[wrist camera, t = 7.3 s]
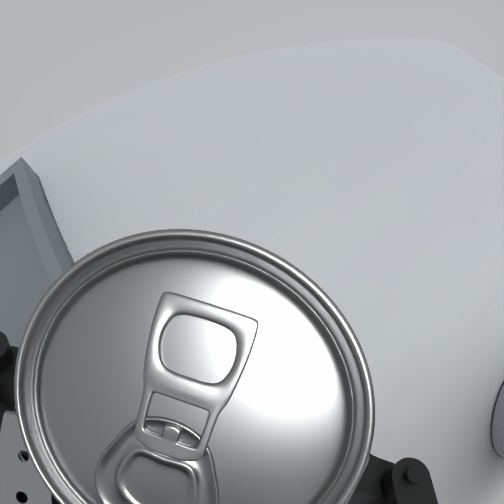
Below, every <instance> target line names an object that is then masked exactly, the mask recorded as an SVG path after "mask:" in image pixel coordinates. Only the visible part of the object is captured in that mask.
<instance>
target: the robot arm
mask: <svg viewBox="0 0 504 504" xmlns="http://www.w3.org/2000/svg"><path fill="white" fill-rule="evenodd" d="M18 350H19V347H14V346H10V344H9V341H8V338H7V336H6V335H5V334H4V333H3V332H1V331H0V504H60V503H59V502H58V501H57V500H56V499H55V498H54V496H53V495H52V494H51V492H50V491H49V490H48V488H47V487H46V485H45V484H44V482H43V481H42V479H41V478H40V476H39V474H38V473H37V471H36V469H35V467H34V465H33V463H32V461H31V459H30V457H29V455H28V452H27V450H26V447H25V445H24V442H23V439H22V436H21V432H20V428H19V424H18V420H17V414H16V407H15V397H14V377H15V366H16V360H17V354H18ZM492 440H493V445H494V448H495V451H496V452H497V453H498V454H499V456H501V457H503V458H504V384H503V386H502V389H501V391H500V394H499V397H498V400H497V402H496V407H495V411H494V416H493V423H492ZM345 504H438V502H437V498H436V494H435V491H434V487H433V484H432V480H431V477H430V473H429V471H428V469H427V467H426V466H425V465H424V464H423V463H422V462H421V461H419V460H417V459H415V458H404V459H401V460H400V461H398V462H397V463H396V464H394V463H391V462H388V461H386V460H383V459H380V458H378V457H375V456H373V455H372V454H369V457H368V460H367V463H366V466H365V469H364V471H363V474H362V476H361V478H360V480H359V482H358V484H357V486H356V488H355V489H354V491H353V493H352V494H351V496H350V497H349V499H348V500H347V502H346V503H345Z"/></svg>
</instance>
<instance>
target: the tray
mask: <svg viewBox="0 0 504 504" xmlns="http://www.w3.org/2000/svg"><path fill="white" fill-rule="evenodd" d="M73 264H74V261H73V259H72V257H71V255H70V253H69V251H68V249H67V246H66V244H65V242H64V240H63V237H62V235H61V233H60V231H59V228H58V226H57V223H56V221H55V219H54V216H53V214H52V211H51V209H50V206H49V203H48V201H47V198H46V196H45V193H44V190H43V187H42V184H41V182H40V179H39V176H38V175H37V174H36V173H35V172H34V171H33V170H32V169H31V167H30V166H29V165H28V164H27V163H26V162H25V161H24V159H23V158H22V157H21V158H20V159H19V160H17V161H16V162H15V163H14V164H13V165H11V166H10V167H9V168H8V169H7V170H6V171H5V172H3V173H2V174H1V175H0V331H1V332H3V333H4V334H5V335H6V336H7V338H8V341H9V344H10V346H14V347H19V346H20V342H21V339H22V336H23V333H24V330H25V328H26V325H27V323H28V321H29V319H30V317H31V315H32V313H33V311H34V309H35V307H36V306H37V304H38V303H39V301H40V300H41V298H42V297H43V295H44V294H45V293H46V291H47V290H48V289H49V288H50V286H51V285H52V284H53V283H54V282H55V281H56V280H57V279H58V278H59V277H60V276H61V275H62V274H63V273H64V272H65V271H66V270H67V269H68V268H69V267H71V266H72V265H73Z"/></svg>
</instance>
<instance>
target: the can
mask: <svg viewBox="0 0 504 504" xmlns="http://www.w3.org/2000/svg"><path fill="white" fill-rule="evenodd" d="M14 397H15V407H16V414H17V420H18V424H19V428H20V432H21V436H22V439H23V442H24V445H25V447H26V450H27V452H28V455H29V457H30V459H31V461H32V463H33V465H34V467H35V469H36V471H37V473H38V474H39V476H40V478H41V479H42V481H43V482H44V484H45V485H46V487H47V488H48V490H49V491H50V492H51V494H52V495H53V496H54V498H55V499H56V500H57V501H58V502H59V503H60V504H345V503H346V502H347V500H348V499H349V497H350V496H351V494H352V493H353V491H354V489H355V488H356V486H357V484H358V482H359V480H360V478H361V476H362V474H363V471H364V469H365V466H366V463H367V460H368V457H369V454H370V450H371V445H372V441H373V434H374V426H375V399H374V390H373V384H372V379H371V375H370V371H369V367H368V364H367V361H366V358H365V355H364V352H363V350H362V348H361V345H360V343H359V341H358V339H357V337H356V335H355V333H354V331H353V329H352V328H351V326H350V324H349V323H348V321H347V319H346V318H345V317H344V315H343V314H342V312H341V311H340V310H339V308H338V307H337V306H336V304H335V303H334V302H333V301H332V299H331V298H330V297H329V296H328V295H327V294H326V293H325V292H324V291H323V290H322V289H321V288H320V287H319V286H318V285H317V284H316V283H315V282H314V281H313V280H312V279H311V278H309V277H308V276H307V275H306V274H304V273H303V272H302V271H301V270H299V269H298V268H297V267H295V266H294V265H292V264H291V263H289V262H288V261H286V260H285V259H283V258H281V257H280V256H278V255H276V254H274V253H272V252H270V251H269V250H266V249H264V248H262V247H260V246H258V245H255V244H253V243H250V242H248V241H245V240H242V239H239V238H236V237H232V236H229V235H225V234H220V233H215V232H210V231H202V230H192V229H167V230H156V231H149V232H144V233H139V234H135V235H131V236H128V237H124V238H121V239H119V240H116V241H113V242H111V243H108V244H106V245H104V246H102V247H100V248H98V249H96V250H94V251H92V252H91V253H89V254H87V255H86V256H84V257H83V258H81V259H80V260H78V261H77V262H76V263H74V264H73V265H72V266H71V267H69V268H68V269H67V270H66V271H65V272H64V273H63V274H62V275H61V276H60V277H59V278H58V279H57V280H56V281H55V282H54V283H53V284H52V285H51V286H50V288H49V289H48V290H47V291H46V293H45V294H44V295H43V297H42V298H41V300H40V301H39V303H38V304H37V306H36V307H35V309H34V311H33V313H32V315H31V317H30V319H29V321H28V323H27V325H26V328H25V330H24V333H23V336H22V339H21V342H20V346H19V350H18V354H17V360H16V366H15V377H14Z"/></svg>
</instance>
